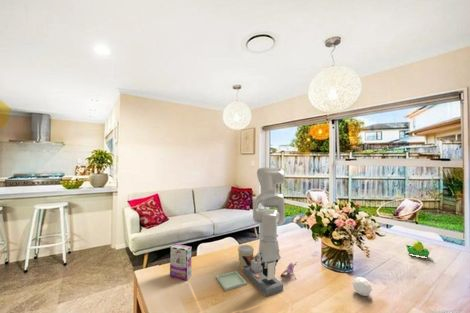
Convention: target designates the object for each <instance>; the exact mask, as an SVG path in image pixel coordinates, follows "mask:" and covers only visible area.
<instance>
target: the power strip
mask: <svg viewBox="0 0 470 313" xmlns="http://www.w3.org/2000/svg"><path fill="white" fill-rule="evenodd" d="M243 274H244V275H245V276H246V277H247V278H248V279H249V280H250V281H251V282H252V283H253V284H254V286H256V288H258V289H259V291H260V292H262V294H263V295H265V296H266V297H268V296H269V297H270V296H271V295H272V296H273V295H275V294H277V293H281V292H283V291H284V284H283V283H282V282H281V281H280V280H279V279H278V278H276V277H275V278H274V279H271V280H267V279H266V278H265V277H264V276H263V267H262V266H261V272H259V273H255V274H254V273H253V272H252V271H251V266H249V267H245V268H244V270H243Z"/></svg>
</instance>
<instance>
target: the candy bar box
mask: <svg viewBox="0 0 470 313" xmlns="http://www.w3.org/2000/svg"><path fill="white" fill-rule="evenodd" d="M169 248H170V250H169V251H170V252H169V253H170V254H169V260H170V262H169V277H171V278H175V279H179V280H183V281H188V280H189V278H190V277H191V276H192V250H193V249H192V248H193V247H192V246H190V245H189V246H188V245H184V244H177V243H176V244H173V245H172V246H170V247H169Z"/></svg>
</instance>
